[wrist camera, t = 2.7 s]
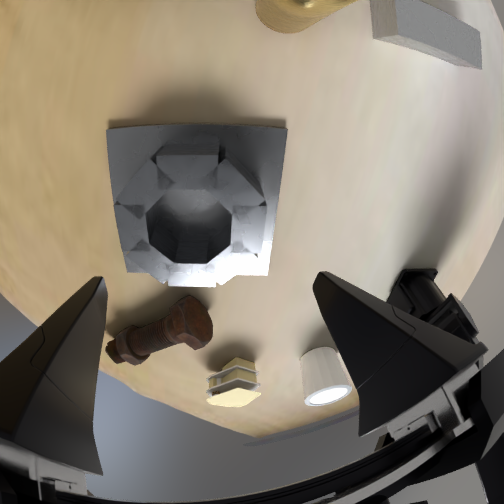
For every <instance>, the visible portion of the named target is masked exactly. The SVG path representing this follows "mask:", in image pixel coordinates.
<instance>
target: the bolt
mask: <svg viewBox="0 0 504 504" xmlns="http://www.w3.org/2000/svg"><path fill="white" fill-rule="evenodd" d="M170 312H171V314H170V315H168V316H167V317H165V318H163V319H161V320H159V321H156V322H154V323H151V324H149V325H147V326H144V327H143V328H140V329H139V328H137V327H135V326H133V325H132V326H130V327H128V328H126V329H124V330H123V331H121V332H120V333H119V334H117V335H116V339H114V340H112V341H109V342H108V343H107V345H108V346H106V350H105V351H106V353H107V354H108V355H109V357H110V358H111V359H112V360H113V361H114V362H115V363H116V364H119V363H122V362H125V361H127V362H128V363H130V364H133V365H138V364H141V363H142V362H144V361H145V360H146V359H147V358H148V357H149V356H150V354H151V353H153V352H156V351H158V350H162V349H164V348H167V347H170V346H173V345H176V344H179V343H184V342H185V343H186V344H187V345H189V346H190V347H191V348H193V349H194V350H197V349H200V348H203V347H204V346H205V345H207V344H208V343H209V342H210V340H211V339H212V337H213V324H212V320H211V318H210V316H209V314H208V312H207V310H206V308H205V307H204V306H203V305H202V304H201V303H200V301H198V300H197V299H196V298H194V297H192V296H190V295H189V296H187V297H185V298H183V299H181V300H180V301H178V302H177V303H176V304H174V305H173V306H172V307H171V308H170Z"/></svg>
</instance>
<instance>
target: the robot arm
mask: <svg viewBox="0 0 504 504" xmlns="http://www.w3.org/2000/svg"><path fill="white" fill-rule="evenodd" d="M437 273H438V271H437V270H436V269H406V270H403V271H402V273H401V275H400V277H399V279H398V281H397V283H396V285H395V287H394V289H393V291H392V293H391V295H390V297H389V299H388V301H387V303H386V302H384V301H383V300H381V299H379V298H377V297H375V296H373V295H371V294H369V293H368V292H366V291H364V290H362V289H360V288H358V287H356V286H354V285H352V284H351V283H349V282H347V281H345V280H343V279H341V278H339V277H337V276H335V275H333V274H331V273H330V272H327V271H322V272H319V273H318V274H317V277H316V279H315V281H314V283H313V292H314V295H315V298H316V300H317V303H318V306H319V309H320V312H321V314H322V317H323V319H324V321H325V323H326V325H327V327H328V329H329V331H330V334H331V336H332V338H333V340H334V342H335V344H336V346H337V348H338V350H339V353H340V355H341V357H342V359H343V361H344V363H345V365H346V368H347V370H348V372H349V374H350V376H351V379H352V381H353V383H354V385H355V387H356V389H357V392H358V395H359V432H358V434H359V437H362V436H365V435H367V434H369V433H371V432H373V431H376V430H378V429H380V428H382V427H384V426H386V425H387V428H388V430H389V433H387V434H385V435H383V436H381V437H379V440H378V443H377V445H376V448H375V451H374V452H373V453H371V454H369V455H366V456H364V457H362V458H360V459H358V460H356V461H353V462H351V463H349V464H346V465H344V466H341V467H339V468H336V469H334V470H331V471H329V472H326V473H323V474H320V475H317V476H314V477H311V478H308V479H305V480H302V481H299V482H295V483H292V484H288V485H284V486H281V487H277V488H273V489H268V490H264V491H260V492H255V493H250V494H244V495H238V496H232V497H226V498H217V499H209V500H197V501H179V502H146V501H128V500H117V499H109V498H101V497H95V496H94V495H93V494H91V493H90V492H89V491H88V490H87V487H86V479H85V473H87V474H93V475H101V476H103V471H102V468H101V464H100V460H99V456H98V452H97V448H96V444H95V439H94V434H93V414H94V402H95V392H96V383H97V375H98V368H99V361H100V354H101V348H102V343H103V337H104V331H105V324H106V311H107V300H108V292H107V288H106V284H105V280H104V278H103V277H102V276H95V277H93V278H92V279H90V280H89V281H88V282H87V283H86V284H85V285H84V286H82V287H81V288H80V289H79V290H78V291H77V292H76V293H75V294H73V295H72V296H71V297H70V298H69V299H68V300H67V301H66V302H65V303H64V304H63V305H61V306H60V307H59V308H58V309H57V310H56V311H55V312H54V313H53V314H52V315H51V316H50V317H49V318H48V319H47V320H46V321H45V322H44V323H43V324H42V325H41V326H39V327H38V328H37V329H36V330H35V331H34V332H33V333H32V334H31V335H30V336H29V337H28V338H27V339H26V340H25V341H24V342H22V343H21V345H19V346H18V347H17V348H16V349H15V350H13V351H12V352H11V353H10V354H9V355H8V356H7V357H6V358H4V359H3V360H2V361H1V362H0V504H302V503H305V502H308V501H311V500H314V499H317V498H320V497H322V496H325V495H327V494H330V493H333V492H336V495H334V497H332V498H327V499H323V500H320V501H318V502H316V503H313V504H390V502H389V500H388V498H389V497H391V496H393V495H394V494H396V493H397V492H399V491H401V490H402V489H404V488H405V487H407V486H409V485H413V484H417V483H420V482H424V481H427V480H430V479H433V478H437V477H439V476H442V475H445V474H448V473H451V472H453V471H456V470H458V469H461V468H464V467H466V466H468V465H471V464H473V463H475V466H476V468H477V471H478V474H479V477H480V480H481V483H482V487H483V490H484V493H485V497H486V500H487V504H504V349H503V350H502V351H501V352H500V353H499V354H498V355H497V356H496V357H495V358H493V359H492V360H491V361H490V362H489V363H488V364H487V365H485V367H483V355H484V354H485V353H486V352H487V351H488V348H487V347H486V346H485V345H484V344H483V343H482V342H479V341H478V339H477V338H476V335H477V334H478V333H479V331H478V329H477V327H476V325H475V323H474V321H473V319H472V317H471V315H470V313H469V312H468V311H467V309H466V308H465V307H464V305H463V304H462V303H461V302H460V301H459V300H458V299H457V298H456V297H455V296H454V295H453V294H452V293H450V294H449V295H448V297H447V298H446V297H445V296H444V295H443V293H442V292H441V290H440V289H439V288H438V286H437V285H436V284H435V282H434V279H435V277H436V275H437ZM411 504H428V502H427V501H421V502H416V503H411Z"/></svg>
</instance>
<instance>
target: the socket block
mask: <svg viewBox="0 0 504 504" xmlns="http://www.w3.org/2000/svg"><path fill="white" fill-rule="evenodd" d="M287 131H288V129H287V128H281V127H270V126H258V125H242V124H216V123H181V124H155V125H139V126H127V127H117V128H109V129H107V130H106V136H107V150H108V161H109V171H110V179H111V187H112V194H113V201H114V211H115V217H116V223H117V228H118V233H119V238H120V243H121V248H122V251H123V255H124V259H125V264H126V268H127V272H133V273H148V274H150V275H151V276H153V277H154V278H155V279H157V280H158V281H159V282H161V283H162V284H163V283H165V282H166V281H167V280H168V285H169V286H191V287H216V282H218V283H219V284H220V285H222V284H224V283H225V282H227V281H228V280H229V279H231V278H232V277H233V276H235V275H267V274H268V267H269V261H270V254H271V247H272V241H273V234H274V227H275V220H276V213H277V206H278V199H279V192H280V184H281V177H282V170H283V162H284V154H285V147H286V139H287Z"/></svg>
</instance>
